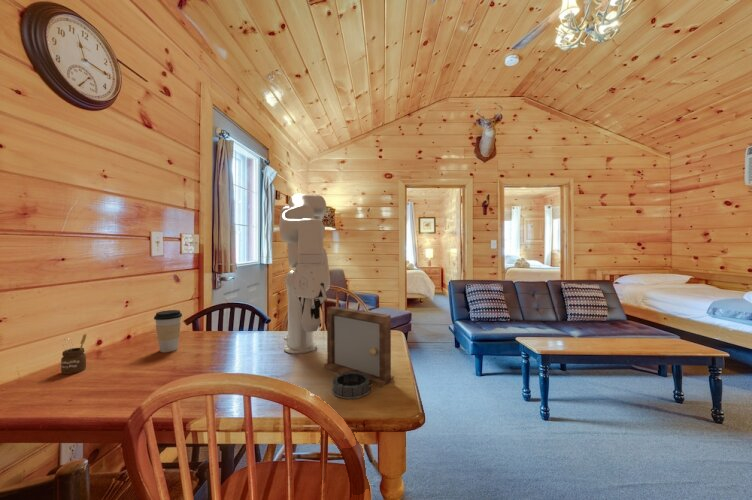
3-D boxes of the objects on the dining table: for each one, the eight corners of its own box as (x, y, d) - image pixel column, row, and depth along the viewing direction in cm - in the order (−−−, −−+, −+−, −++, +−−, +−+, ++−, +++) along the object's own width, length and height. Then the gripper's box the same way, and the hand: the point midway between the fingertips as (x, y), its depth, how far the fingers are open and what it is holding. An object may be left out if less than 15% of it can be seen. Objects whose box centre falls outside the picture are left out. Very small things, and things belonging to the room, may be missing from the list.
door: (331, 364, 103) (331, 316, 103) (337, 361, 106) (337, 314, 106) (377, 379, 92) (377, 324, 92) (383, 375, 94) (383, 322, 94)
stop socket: (323, 391, 87) (323, 381, 87) (349, 378, 96) (349, 368, 96) (353, 403, 81) (353, 392, 81) (378, 387, 89) (378, 377, 89)
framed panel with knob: (324, 367, 104) (323, 308, 104) (336, 362, 109) (336, 305, 109) (382, 387, 90) (381, 318, 90) (393, 380, 95) (393, 314, 94)
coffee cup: (172, 353, 119) (172, 314, 118) (148, 353, 119) (147, 314, 119) (187, 346, 128) (187, 309, 128) (165, 346, 128) (164, 309, 128)
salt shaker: (315, 333, 92) (315, 289, 91) (297, 332, 93) (297, 288, 93) (323, 327, 98) (323, 286, 97) (306, 326, 99) (306, 285, 98)
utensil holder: (69, 368, 105) (68, 333, 104) (91, 366, 106) (91, 331, 106) (55, 375, 99) (55, 338, 99) (79, 373, 100) (79, 336, 100)
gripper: (283, 259, 97) (284, 318, 97) (320, 261, 87) (320, 327, 87) (302, 258, 102) (303, 313, 103) (338, 260, 93) (338, 321, 93)
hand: (310, 319), depth 95 cm, fingers closed on salt shaker, 3 cm apart
